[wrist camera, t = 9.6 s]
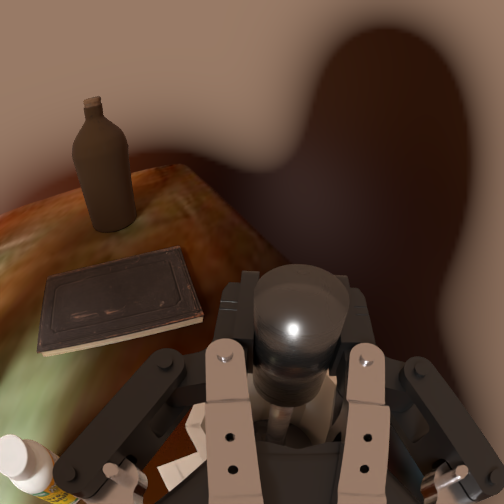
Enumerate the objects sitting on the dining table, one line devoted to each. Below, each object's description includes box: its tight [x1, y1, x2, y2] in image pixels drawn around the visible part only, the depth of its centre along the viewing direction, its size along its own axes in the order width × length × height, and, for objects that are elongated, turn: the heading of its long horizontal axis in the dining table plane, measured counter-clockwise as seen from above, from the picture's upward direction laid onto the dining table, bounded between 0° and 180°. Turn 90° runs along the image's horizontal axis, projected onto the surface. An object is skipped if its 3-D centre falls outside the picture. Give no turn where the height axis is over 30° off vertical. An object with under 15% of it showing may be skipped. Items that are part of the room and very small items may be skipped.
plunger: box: [253, 264, 350, 449], centre depth 15 cm, size 7×7×19 cm
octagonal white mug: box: [157, 369, 337, 492], centre depth 20 cm, size 10×12×14 cm
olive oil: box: [72, 96, 136, 232], centre depth 52 cm, size 11×11×25 cm
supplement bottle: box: [0, 434, 80, 504], centre depth 18 cm, size 5×5×10 cm
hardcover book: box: [37, 246, 204, 357], centre depth 42 cm, size 16×23×2 cm
